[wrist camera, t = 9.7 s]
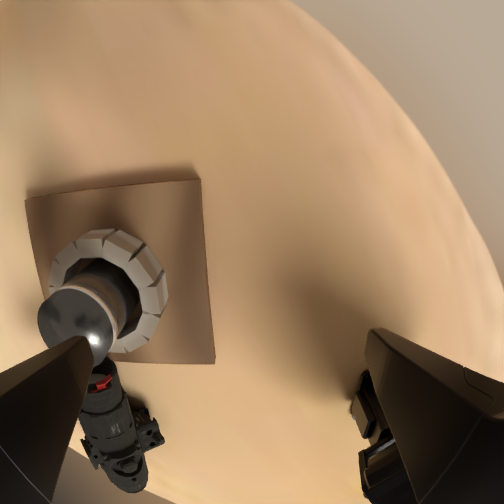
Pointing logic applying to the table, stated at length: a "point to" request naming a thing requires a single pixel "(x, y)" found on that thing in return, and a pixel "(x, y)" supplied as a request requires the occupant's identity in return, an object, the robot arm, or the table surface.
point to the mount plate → (165, 237)
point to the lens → (90, 307)
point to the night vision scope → (116, 430)
